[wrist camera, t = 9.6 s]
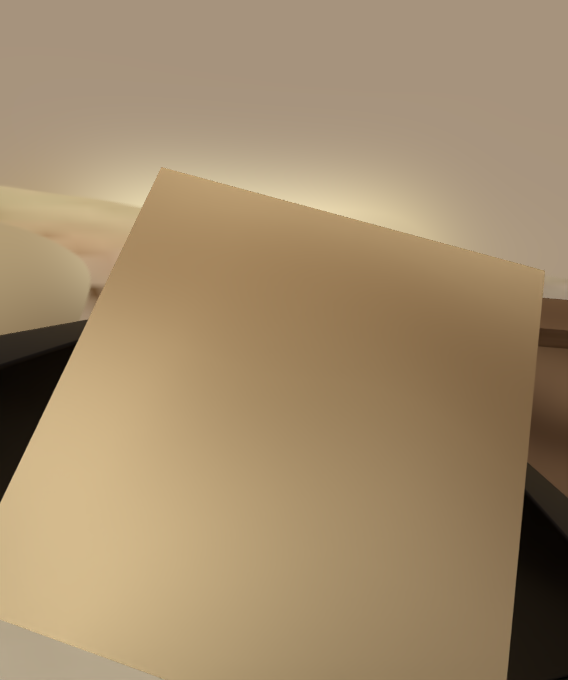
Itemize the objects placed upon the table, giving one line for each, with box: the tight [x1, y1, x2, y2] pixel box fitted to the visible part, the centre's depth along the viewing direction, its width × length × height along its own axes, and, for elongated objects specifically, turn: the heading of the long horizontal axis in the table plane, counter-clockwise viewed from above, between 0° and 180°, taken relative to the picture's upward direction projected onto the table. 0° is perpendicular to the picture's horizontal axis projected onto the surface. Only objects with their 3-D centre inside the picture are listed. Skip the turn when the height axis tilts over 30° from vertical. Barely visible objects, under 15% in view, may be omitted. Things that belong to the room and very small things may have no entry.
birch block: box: [0, 167, 545, 680], centre depth 9 cm, size 5×5×12 cm
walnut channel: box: [527, 298, 568, 497], centre depth 15 cm, size 12×30×6 cm, turn 85°
